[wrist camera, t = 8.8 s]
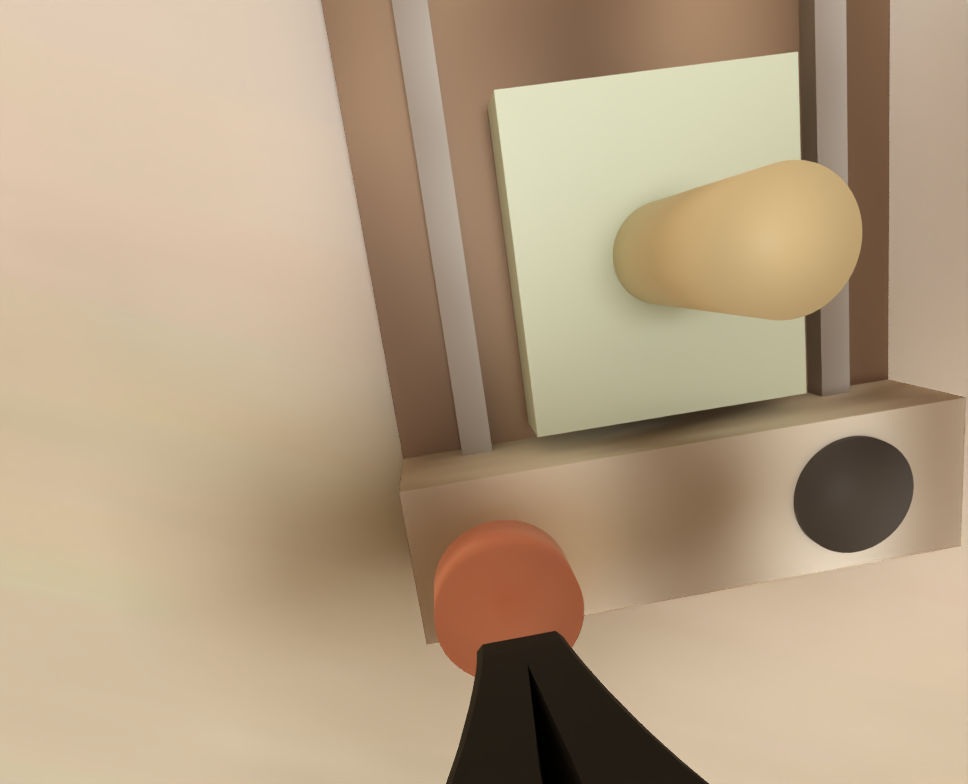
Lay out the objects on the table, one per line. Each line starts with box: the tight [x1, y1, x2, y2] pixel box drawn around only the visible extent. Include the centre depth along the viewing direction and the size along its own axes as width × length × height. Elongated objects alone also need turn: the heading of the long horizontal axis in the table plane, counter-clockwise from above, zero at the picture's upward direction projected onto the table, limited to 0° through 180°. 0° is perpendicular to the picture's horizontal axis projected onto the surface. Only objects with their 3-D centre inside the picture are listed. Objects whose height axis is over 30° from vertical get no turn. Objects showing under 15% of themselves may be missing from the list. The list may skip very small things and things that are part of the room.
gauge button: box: [434, 520, 584, 676], centre depth 12 cm, size 3×3×1 cm
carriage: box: [488, 52, 862, 437], centre depth 12 cm, size 7×8×6 cm
